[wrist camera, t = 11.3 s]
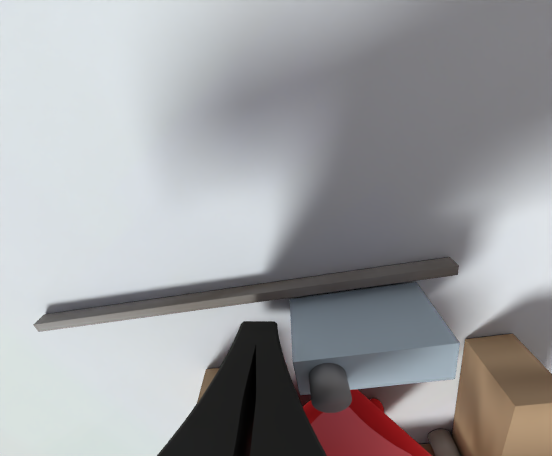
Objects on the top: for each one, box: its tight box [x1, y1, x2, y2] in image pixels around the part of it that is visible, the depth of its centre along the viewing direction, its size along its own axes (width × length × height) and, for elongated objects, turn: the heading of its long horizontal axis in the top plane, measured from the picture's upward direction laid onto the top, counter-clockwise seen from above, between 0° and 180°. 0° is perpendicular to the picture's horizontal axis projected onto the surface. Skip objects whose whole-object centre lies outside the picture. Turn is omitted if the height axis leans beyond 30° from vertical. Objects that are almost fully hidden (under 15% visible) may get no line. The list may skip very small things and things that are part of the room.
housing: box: [34, 257, 552, 456], centre depth 13 cm, size 14×20×4 cm
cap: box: [303, 389, 432, 456], centre depth 12 cm, size 8×6×6 cm
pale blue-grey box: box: [290, 282, 460, 413], centre depth 10 cm, size 2×5×4 cm, turn 101°
